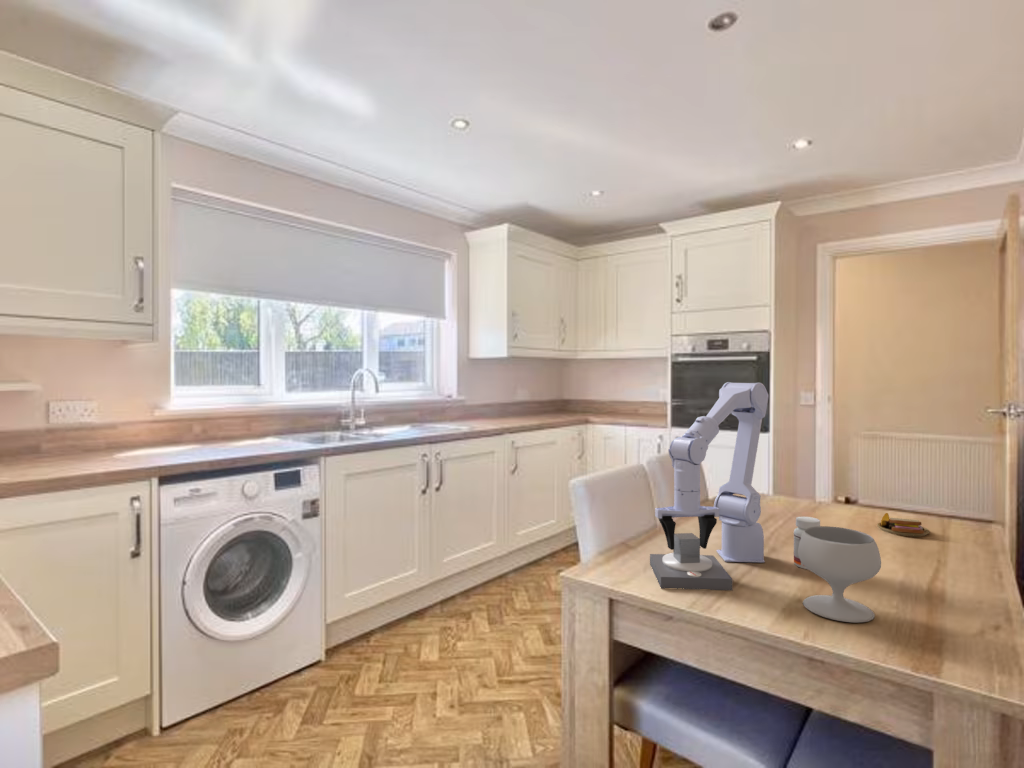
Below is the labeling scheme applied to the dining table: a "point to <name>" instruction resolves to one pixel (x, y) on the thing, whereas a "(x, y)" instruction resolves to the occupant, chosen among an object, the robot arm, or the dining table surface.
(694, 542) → the block
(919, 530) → the toy sandwich meal
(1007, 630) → the dining table surface
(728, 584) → the kitchen scale
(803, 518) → the pill bottle
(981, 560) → the dining table surface
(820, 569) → the chalice
